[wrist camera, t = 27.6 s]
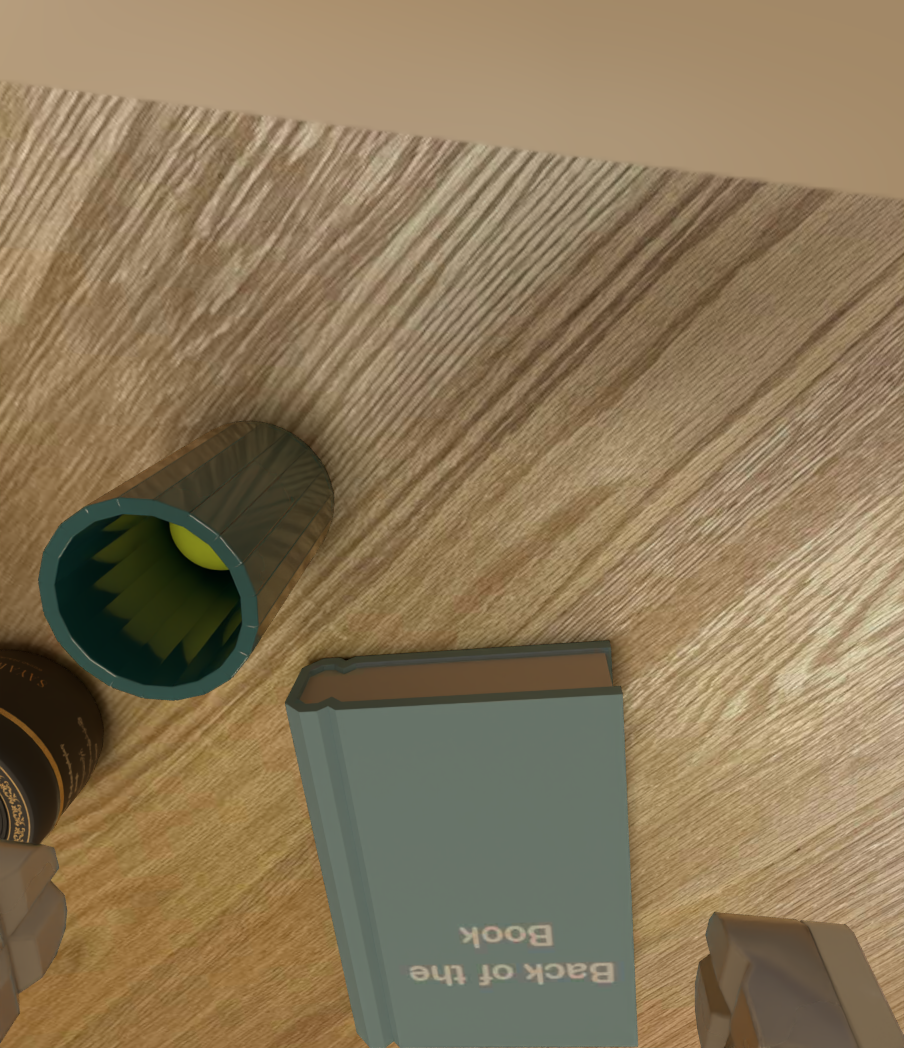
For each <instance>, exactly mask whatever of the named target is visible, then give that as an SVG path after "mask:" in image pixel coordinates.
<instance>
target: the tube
mask: <svg viewBox="0 0 904 1048" xmlns="http://www.w3.org/2000/svg"><path fill="white" fill-rule="evenodd" d="M333 512H334V497H333V490H332V486H331V482H330V479H329V476H328V474H327V472H326V470H325V468H324V466H323V464H322V462H321V461H320V459H319V458H318V457H317V455H316V454H315V453H314V452H313V451H312V449H311V448H310V447H309V446H308V445H307V444H305V443H304V442H303V441H302V440H301V439H299V438H298V437H297V436H295V435H294V434H292V433H290V432H288V431H286V430H285V429H283V428H280V427H277V426H275V425H272V424H268V423H264V422H257V421H239V422H233V423H229V424H225V425H222V426H220V427H218V428H215V429H212V430H210V431H209V432H207V433H205V434H204V435H202V436H200V437H199V438H197V439H195V440H194V441H192V442H190V443H189V444H187V445H186V446H184V447H182V448H181V449H179V450H177V451H176V452H174V453H172V454H171V455H169V456H167V457H166V458H164V459H162V460H161V461H159V462H157V463H156V464H154V465H152V466H151V467H149V468H147V469H146V470H144V471H143V472H141V473H139V474H138V475H136V476H134V477H133V478H131V479H129V480H128V481H126V482H124V483H123V484H121V485H119V486H118V487H116V488H114V489H113V490H111V491H109V492H108V493H106V494H104V495H103V496H101V497H99V498H98V499H96V500H95V501H93V502H91V503H90V504H88V505H86V506H85V507H83V508H82V509H80V510H79V511H78V512H76V513H75V514H73V515H72V516H71V517H69V518H68V519H67V520H65V521H64V522H62V523H61V525H60V526H59V527H58V528H57V530H56V531H55V533H54V535H53V536H52V538H51V539H50V541H49V543H48V544H47V546H46V548H45V549H44V551H43V555H42V561H41V567H40V572H39V578H38V581H39V582H38V584H39V590H40V596H41V602H42V607H43V612H44V615H45V617H46V619H47V621H48V623H49V625H50V627H51V629H52V631H53V633H54V635H55V637H56V639H57V641H58V642H60V645H61V646H62V647H63V648H64V649H65V650H66V651H67V652H68V653H69V654H70V656H71V657H72V658H73V659H74V660H75V661H76V662H77V663H78V664H79V665H80V667H83V669H84V670H86V671H87V672H89V673H90V674H92V675H93V676H95V677H96V678H98V679H99V680H101V681H102V682H104V683H105V684H107V685H108V686H112V688H115V689H118V690H121V691H123V692H126V693H129V694H132V695H135V696H138V697H141V698H145V699H158V700H172V701H174V700H181V699H186V698H191V697H195V696H200V695H204V694H206V693H209V692H210V691H212V690H214V689H215V688H217V687H219V686H220V685H222V684H224V683H225V682H227V681H229V680H230V679H231V678H232V677H234V675H235V674H236V673H237V672H238V670H239V669H240V668H241V667H242V665H243V664H244V663H245V662H246V660H247V659H248V658H249V656H250V655H251V653H252V652H253V650H254V649H255V647H256V646H257V644H258V642H259V641H260V639H261V638H262V636H263V635H264V633H265V632H266V630H267V628H268V627H269V625H270V624H271V622H272V621H273V619H274V618H275V616H276V614H277V613H278V611H279V610H280V608H281V607H282V605H283V604H284V602H285V600H286V599H287V597H288V596H289V594H290V593H291V591H292V590H293V588H294V586H295V585H296V583H297V582H298V580H299V579H300V577H301V576H302V574H303V572H304V571H305V569H306V568H307V566H308V565H309V563H310V562H311V560H312V559H313V557H314V555H315V554H316V552H317V551H318V549H319V548H320V546H321V545H322V543H323V541H324V539H325V538H326V535H327V533H328V531H329V528H330V525H331V522H332V518H333ZM169 522H171V523H173V524H176V525H179V526H182V527H184V528H186V529H187V530H188V531H190V532H191V533H193V534H194V535H195V536H197V537H198V538H200V539H201V540H202V541H204V542H205V543H207V544H208V545H209V546H210V547H211V548H212V549H213V551H214V552H215V553H216V554H217V555H218V557H219V558H220V559H221V560H222V562H223V563H224V564H225V565H226V567H227V568H228V569H229V570H212V569H208V568H204V567H201V566H199V565H197V564H195V563H193V562H192V561H190V560H189V559H188V558H187V557H185V556H184V555H183V554H182V553H181V552H180V550H179V549H178V548H177V546H176V544H175V543H174V540H173V538H172V535H171V532H170V525H169Z"/></svg>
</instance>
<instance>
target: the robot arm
mask: <svg viewBox="0 0 904 1048" xmlns="http://www.w3.org/2000/svg"><path fill="white" fill-rule="evenodd" d="M58 869H59V865H58V861H57V857H56V853H55V849H54V847H50V846H46V845H42V844H34V843H26V842H19V841H11V840H3V839H0V1043H1V1041H2V1040H3V1038H4V1037H5V1035H6V1034H7V1032H8V1030H9V1029H10V1027H11V1026H12V1024H13V1023H14V1021H15V1020H16V1018H17V1017H18V1015H19V1013H20V1009H19V993H20V992H22V991H23V990H25V989H26V988H28V987H29V986H31V985H32V984H34V983H35V982H37V981H38V980H39V979H41V978H42V977H43V976H44V974H45V973H46V971H47V969H48V968H49V966H50V964H51V963H52V961H53V959H54V958H55V956H56V954H57V952H58V949H59V946H60V943H61V940H62V937H63V935H64V932H65V929H66V917H67V906H66V901H65V895H64V894H63V893H62V892H61V891H60V890H59V889H58V888H57V887H56V886H55V884H54V883H53V882H52V881H51V879H52V877H53V876H54V875H55V873H56V872H57V870H58ZM706 939H707V943H708V947H709V951H710V954H709V955H708V956H707V957H705V958H704V959H703V960H701V961H700V962H699V966H698V971H697V976H696V981H695V1013H696V1021H697V1029H698V1034H699V1039H700V1044H701V1048H904V1035H903V1033H902V1031H901V1029H900V1027H899V1024H898V1022H897V1020H896V1018H895V1016H894V1014H893V1012H892V1010H891V1008H890V1006H889V1004H888V1002H887V1000H886V998H885V996H884V994H883V992H882V989H881V987H880V985H879V983H878V981H877V979H876V977H875V975H874V973H873V971H872V969H871V967H870V965H869V963H868V961H867V959H866V957H865V954H864V952H863V950H862V948H861V946H860V944H859V942H858V940H857V938H856V936H855V934H854V932H853V931H852V930H851V929H850V928H849V927H848V926H847V925H846V924H835V923H825V922H815V921H804V920H801V921H798V920H796V919H787V918H776V917H765V916H753V915H742V914H731V913H720V912H714V913H713V915H712V916H711V918H710V919H709V923H708V927H707V931H706Z"/></svg>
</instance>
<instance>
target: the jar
mask: <svg viewBox="0 0 904 1048" xmlns="http://www.w3.org/2000/svg"><path fill="white" fill-rule="evenodd" d="M103 735H104V734H103V724H102V719H101V716H100V713H99V710H98V707H97V705H96V703H95V701H94V699H93V697H92V695H91V694H90V692H89V691H88V690H87V688H86V687H85V686H84V685H83V683H82V682H81V681H80V680H79V679H78V678H77V677H76V676H75V675H73V674H72V673H71V672H70V671H68V670H67V669H66V668H64V667H63V666H61V665H59V664H58V663H56V662H54V661H52V660H50V659H48V658H45V657H43V656H40V655H36V654H33V653H28V652H24V651H17V650H0V839H3V840H11V841H19V842H26V843H34V844H41V843H42V842H43V841H44V840H45V839H46V838H47V837H48V836H49V835H50V833H51V832H52V831H53V829H54V828H55V826H56V825H57V823H58V821H59V819H60V817H61V815H62V814H63V813H64V811H65V810H66V809H67V808H68V806H69V805H70V804H71V803H72V801H73V800H74V799H75V798H76V796H77V795H78V794H79V793H80V791H81V790H82V789H83V787H84V786H85V785H86V783H87V782H88V780H89V779H90V777H91V775H92V773H93V771H94V769H95V766H96V764H97V761H98V758H99V755H100V753H101V749H102V745H103Z"/></svg>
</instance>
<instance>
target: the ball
mask: <svg viewBox="0 0 904 1048" xmlns="http://www.w3.org/2000/svg"><path fill="white" fill-rule="evenodd" d="M169 525H170V532H171V535H172V538H173V540H174V543H175V544H176V546H177V548H178V549H179V550H180V552H181V553H182V554H183V555H184V556H185V557H187V558H188V559H189V560H190V561H192V562H193V563H195V564H197V565H199V566H201V567H204V568H208V569H212V570H229V569H228V568H227V567H226V565H225V564H224V563H223V562H222V560H221V559H220V558H219V557H218V555H217V554H216V553H215V552H214V551H213V549H212V548H211V547H210V546H209V545H208V544H207V543H205V542H204V541H202V540H201V539H200V538H198V537H197V536H195V535H194V534H193V533H191V532H190V531H188V530H187V529H186V528H184V527H182V526H179V525H176V524H173V523H171V522H169Z"/></svg>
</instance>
